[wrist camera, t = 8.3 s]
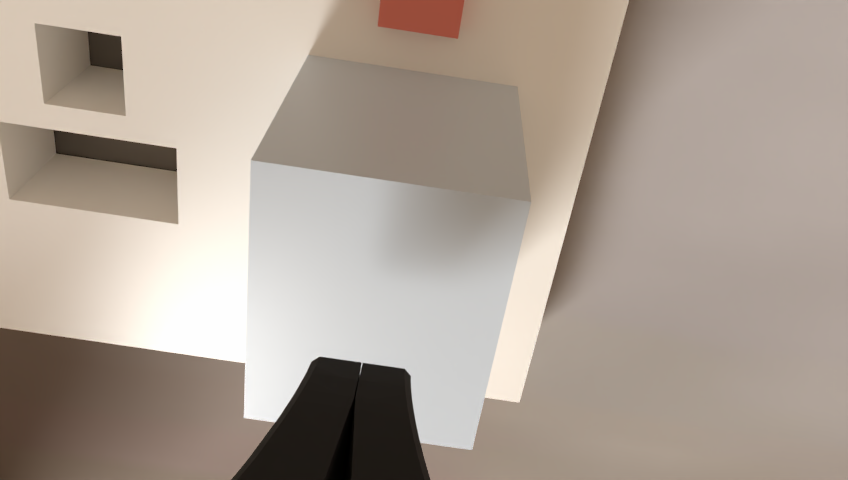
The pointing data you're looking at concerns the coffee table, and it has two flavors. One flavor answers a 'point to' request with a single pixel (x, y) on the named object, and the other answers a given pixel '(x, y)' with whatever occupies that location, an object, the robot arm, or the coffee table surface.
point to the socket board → (248, 149)
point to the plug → (385, 236)
